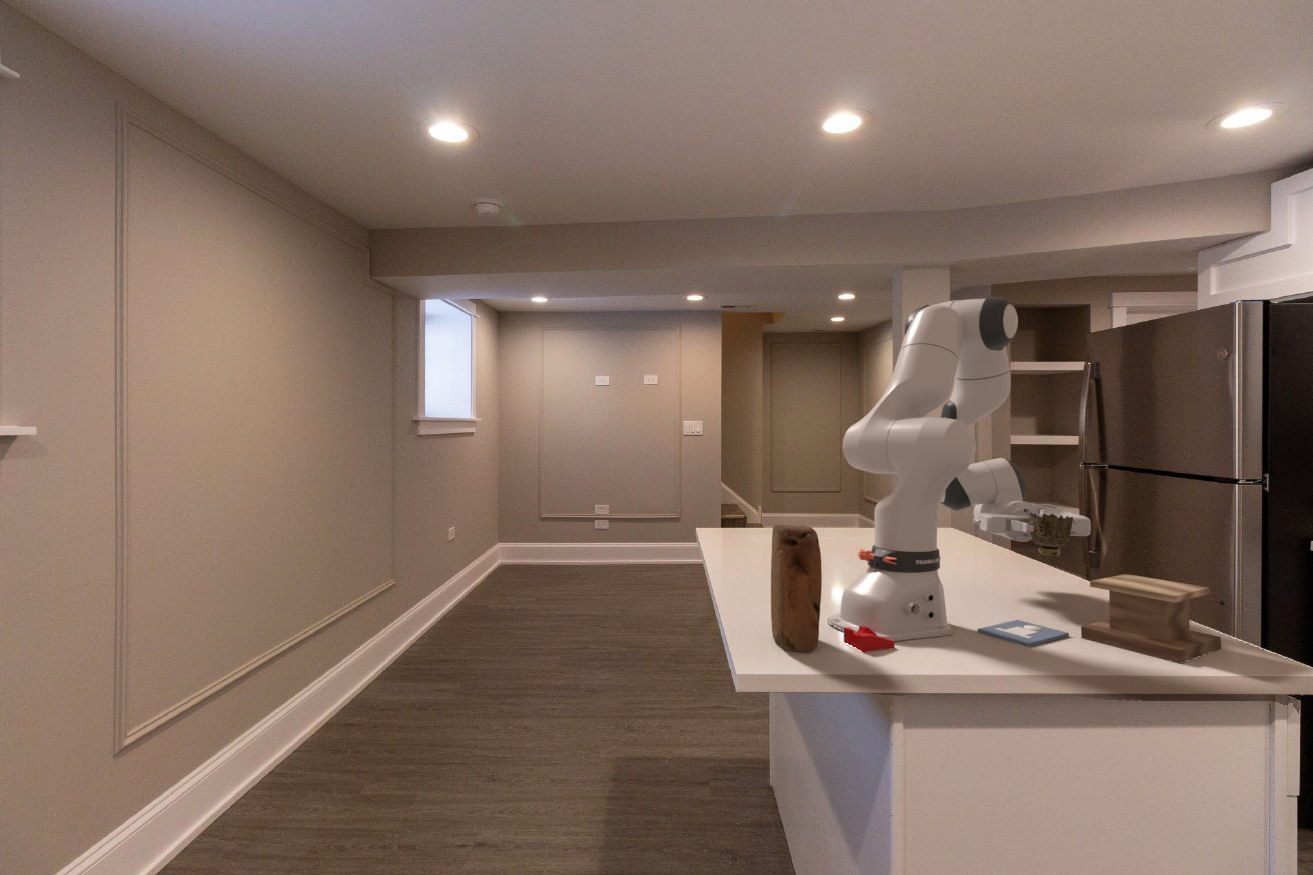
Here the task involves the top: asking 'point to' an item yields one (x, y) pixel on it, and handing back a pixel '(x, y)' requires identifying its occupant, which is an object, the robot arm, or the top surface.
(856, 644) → the bracket
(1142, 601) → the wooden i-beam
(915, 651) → the top surface
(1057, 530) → the cup
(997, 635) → the board
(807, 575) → the brown speckled rock
